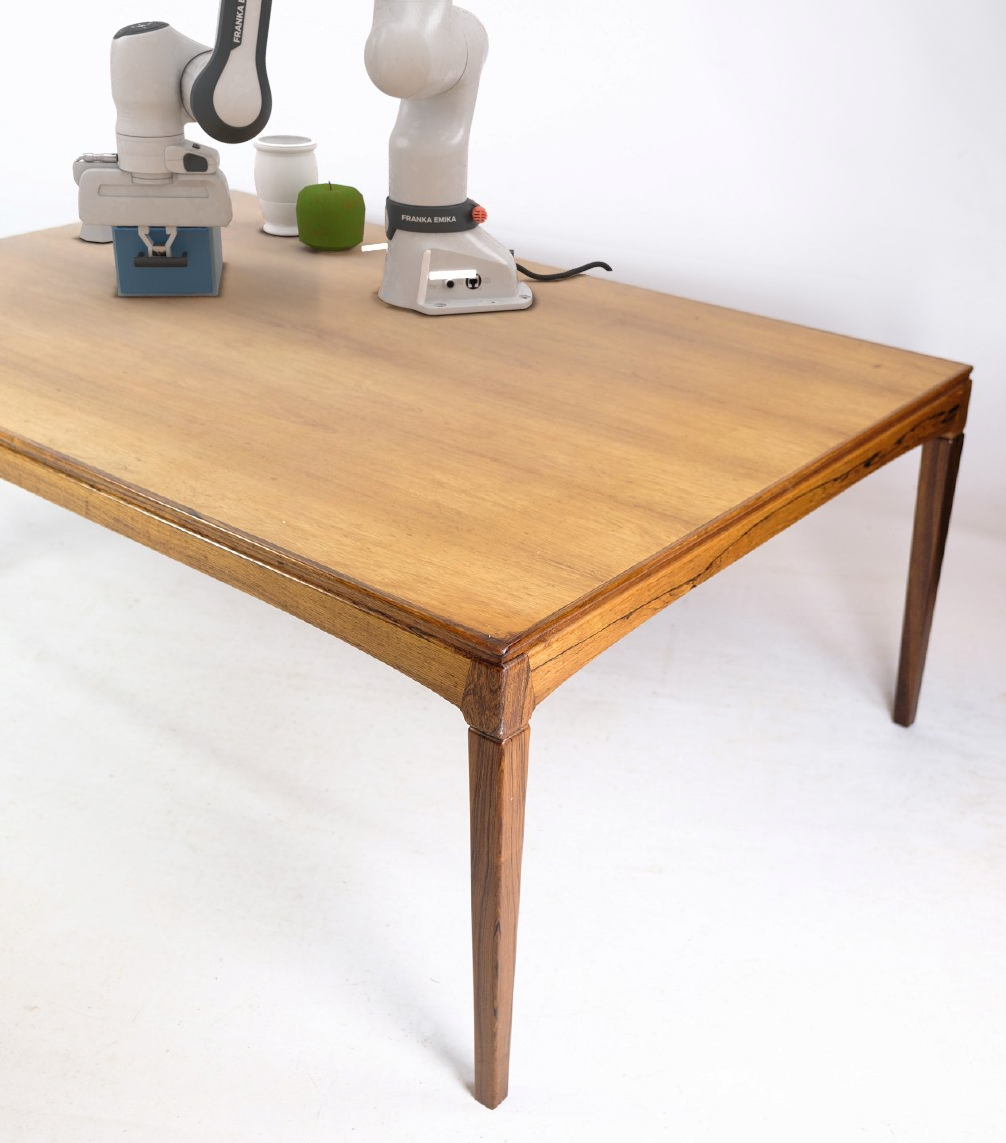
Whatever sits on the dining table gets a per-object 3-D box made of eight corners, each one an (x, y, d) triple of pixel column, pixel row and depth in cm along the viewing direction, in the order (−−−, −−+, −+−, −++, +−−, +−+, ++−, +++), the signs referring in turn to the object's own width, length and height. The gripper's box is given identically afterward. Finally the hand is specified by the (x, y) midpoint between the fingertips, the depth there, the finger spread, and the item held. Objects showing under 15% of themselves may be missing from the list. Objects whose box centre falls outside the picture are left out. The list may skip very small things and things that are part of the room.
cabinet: (217, 296, 186) (212, 220, 180) (118, 296, 184) (110, 219, 178) (222, 263, 201) (218, 192, 196) (131, 263, 199) (124, 192, 194)
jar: (325, 226, 225) (323, 136, 218) (312, 240, 216) (309, 147, 209) (265, 222, 226) (261, 132, 219) (249, 236, 217) (244, 143, 210)
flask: (136, 237, 213) (129, 175, 209) (102, 245, 208) (95, 182, 203) (105, 230, 217) (98, 169, 212) (71, 238, 211) (63, 176, 206)
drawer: (210, 302, 179) (205, 238, 175) (116, 303, 177) (109, 238, 173) (217, 262, 198) (213, 203, 194) (133, 262, 196) (127, 203, 192)
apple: (296, 256, 206) (293, 187, 201) (298, 240, 216) (296, 173, 210) (366, 257, 207) (365, 188, 202) (365, 241, 217) (364, 174, 212)
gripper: (67, 157, 167) (78, 263, 174) (227, 160, 170) (233, 264, 177) (74, 148, 173) (85, 251, 180) (230, 151, 176) (235, 252, 182)
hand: (160, 257), depth 178 cm, fingers closed
